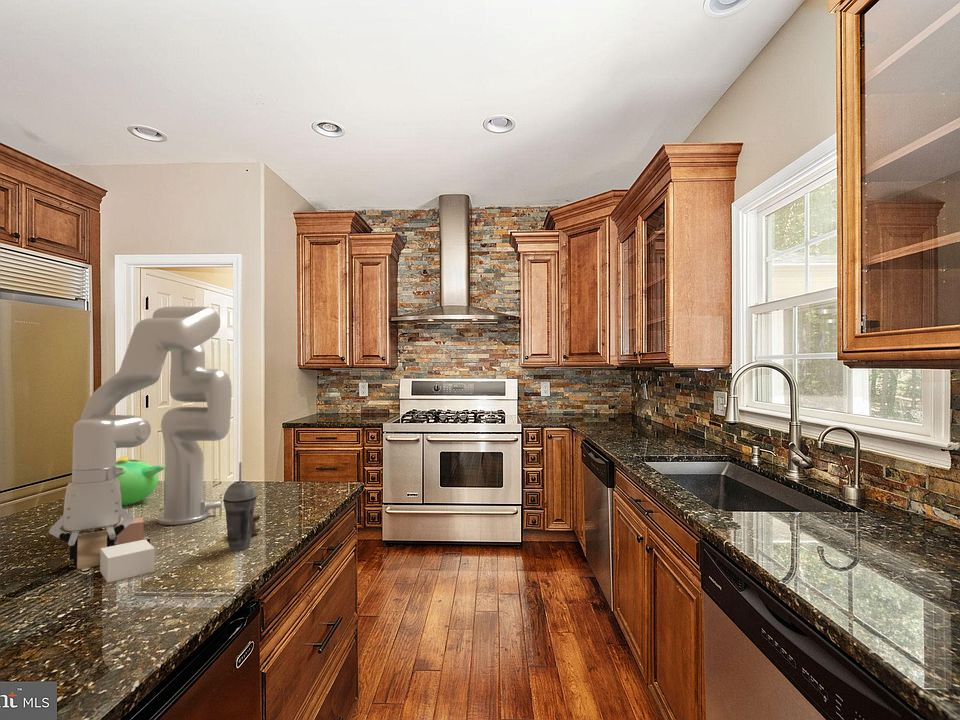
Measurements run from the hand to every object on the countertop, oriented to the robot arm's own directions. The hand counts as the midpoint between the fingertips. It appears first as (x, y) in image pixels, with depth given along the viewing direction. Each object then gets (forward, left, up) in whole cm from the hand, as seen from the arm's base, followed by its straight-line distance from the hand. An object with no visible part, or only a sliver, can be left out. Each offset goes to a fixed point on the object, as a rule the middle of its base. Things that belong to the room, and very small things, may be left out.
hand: (92, 558), depth 110 cm
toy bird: (-7, -54, -1) cm, 54 cm away
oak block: (0, 0, -1) cm, 1 cm away
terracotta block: (-7, -8, -1) cm, 11 cm away
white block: (-6, +10, -1) cm, 12 cm away
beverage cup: (-28, +8, -1) cm, 29 cm away
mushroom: (-31, -1, -1) cm, 31 cm away
